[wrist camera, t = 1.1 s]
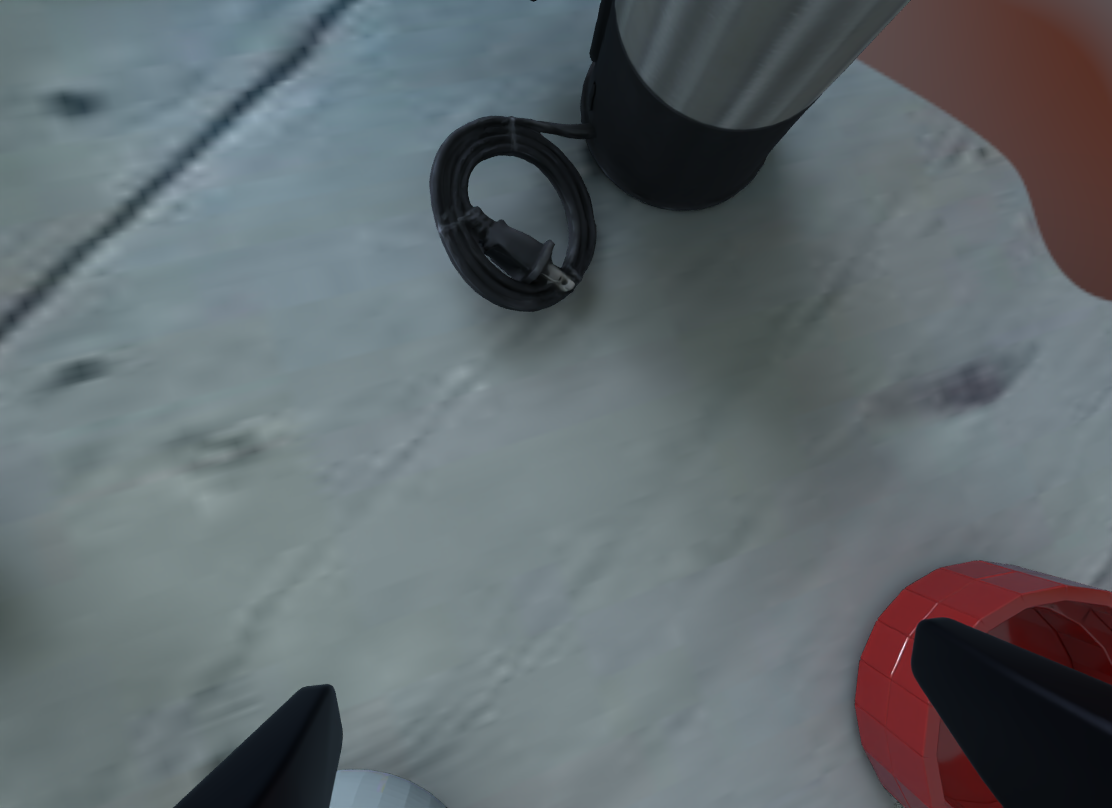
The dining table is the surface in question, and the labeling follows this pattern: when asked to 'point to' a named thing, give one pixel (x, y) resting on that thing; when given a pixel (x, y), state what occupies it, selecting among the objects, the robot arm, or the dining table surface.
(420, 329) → the dining table surface
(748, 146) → the milk frother
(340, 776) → the air freshener
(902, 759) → the bowl
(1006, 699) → the robot arm
